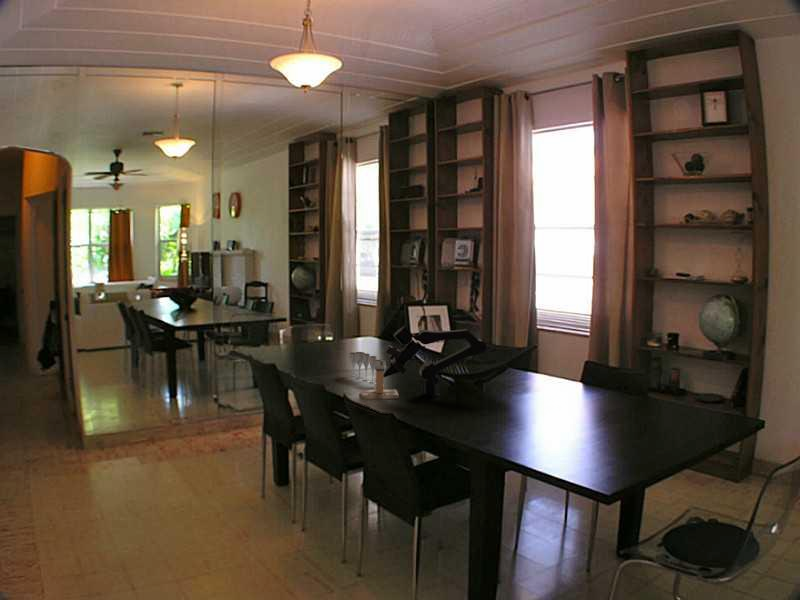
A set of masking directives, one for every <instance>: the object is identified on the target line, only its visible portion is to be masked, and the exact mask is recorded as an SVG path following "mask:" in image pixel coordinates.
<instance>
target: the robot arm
mask: <svg viewBox="0 0 800 600" xmlns="http://www.w3.org/2000/svg"><path fill="white" fill-rule="evenodd" d="M393 338H395V339H396V340H397V342H399V343H400V345H403V346H404V347H403V348H400V349H398V348H397V346H396V347H395V346H392V345H390V344H388V345H387V347H386V349H385V353H386V354H388V355H389V356H388V358H389V361H388V362H389V364H388V366H387V367H386V369H385V370H384V377H383V378H386V377H390V376H392V375H395V374H398V373H400V374H402V375H404V373H406V370H407V369H406V366H407V365H406V364H407V363H408V362H410V361H413V358H414V357H415V356H416V355H417V354H418V353H419V352H422V353H425V352H426V350H425V349H426V346H425V345H429V344H434V343H436V342H440V341H451V340H453V341H454V340H465V341H466V342H467V343H468V344H467V345H465V347H464V348H462V349H460V350H457V351H455V352H454V353H452V354H450V355H448V356H445V357H444V358H442V359H439V360H438V361H434V362H433V361H432V360H431V359H430V360H428V361H427V362H424V363H422V365H421V366H420V368H419V369H418V370H419V372H418V373H419V374H420V376H421V378H422V379H423V381H422V384H421V385H422V386H421V389H422V391H421V392H422V393H420V396H424V397H427V398H428V397H429V398H434V397H439V396H440V395H441V393H439V381H440V379H439V378H438V376H437V375H439V373H441V371H443V370H445V369H447V368H448V367H451V366H453V365H455V364H457V363H459V362H460V361H463V360H465V359H467V358H469V357H473V356H475V357H476V356H479V355H481V354H484V353H485V352H486V351H487V349H488V346H487V343H486V342H485V341H484V340H481V339H480V338H477V337H476V336H474V335H473V333H472V332H470V331H469V330H468V329H466V328H463V329H455V330H453V329H452V330H442V331H441V330H440V331H438V330H437V331H436V330H432V329H431V330H428V329H422V330H419V332H412V333H411V331H410V330H409V329H408V328H407V327H406V325H403V326H402V327H400V328H399V329H397V331H395V332H394V333H393Z"/></svg>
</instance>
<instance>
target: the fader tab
mask: <svg viewBox="0 0 800 600" xmlns="http://www.w3.org/2000/svg"><path fill="white" fill-rule="evenodd" d="M375 369H376V370H375ZM375 369H374V370H375V382H376V386H375V390H376V393H383V390H384V386H383V384H384V378H385V377H384V373H385V370H384V367H383V366H375Z"/></svg>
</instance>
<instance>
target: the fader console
mask: <svg viewBox="0 0 800 600" xmlns="http://www.w3.org/2000/svg"><path fill="white" fill-rule="evenodd" d="M360 394H361V399H363V400H369V399H370V400H372V399H373V400H376V399H377V400H378V399H382V400H383V399H385V400H386V399H388V400H389V399H400V398H399V397H400V396H399V393H398V390H397V389H383V393H376V389H360Z"/></svg>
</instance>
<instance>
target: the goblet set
mask: <svg viewBox="0 0 800 600" xmlns="http://www.w3.org/2000/svg"><path fill="white" fill-rule="evenodd" d="M348 360H349V362H350V363H351V366H352V374H351V375H348V377H349V378H354V379H355V380H359V379H360V380H361V381H362V382H368V384H371V385H374V386H375V387H376V381H374V371H376V369H375V366H383V367H384V371H386V369H387V364H386V361H385V359H378V358H377V356H376V355H371V354H370V353H365V352H363V351H357V352H349V354H348ZM356 365H357V367H358V375H355V374H354V372H355V366H356ZM362 366H363V367H364V368H365V376H367V374H368V368H369V366H370V369H371V373H372V375H371V377H372V381H370V380H371V379H367V378H365V377H361V367H362ZM384 386H385V384H384V383H383V387H384Z"/></svg>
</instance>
